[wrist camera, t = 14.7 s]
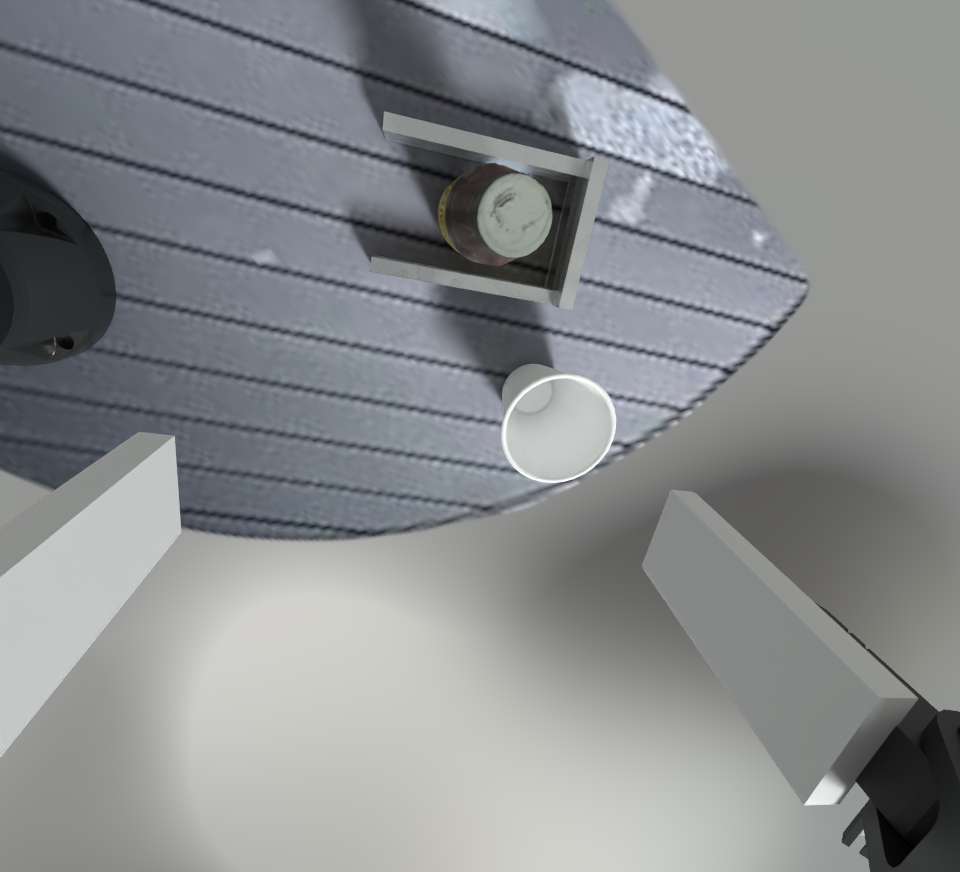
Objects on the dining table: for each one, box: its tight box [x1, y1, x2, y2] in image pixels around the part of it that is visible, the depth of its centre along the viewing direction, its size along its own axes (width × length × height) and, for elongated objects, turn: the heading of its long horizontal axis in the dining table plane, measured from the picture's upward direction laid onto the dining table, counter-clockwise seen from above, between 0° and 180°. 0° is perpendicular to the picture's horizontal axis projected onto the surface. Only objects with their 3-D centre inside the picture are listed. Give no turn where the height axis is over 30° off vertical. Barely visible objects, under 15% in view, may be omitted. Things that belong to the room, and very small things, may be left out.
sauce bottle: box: [438, 163, 552, 266], centre depth 32 cm, size 7×6×20 cm
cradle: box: [370, 111, 609, 310], centre depth 39 cm, size 17×11×6 cm, turn 80°
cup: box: [500, 364, 616, 483], centre depth 44 cm, size 10×10×11 cm
